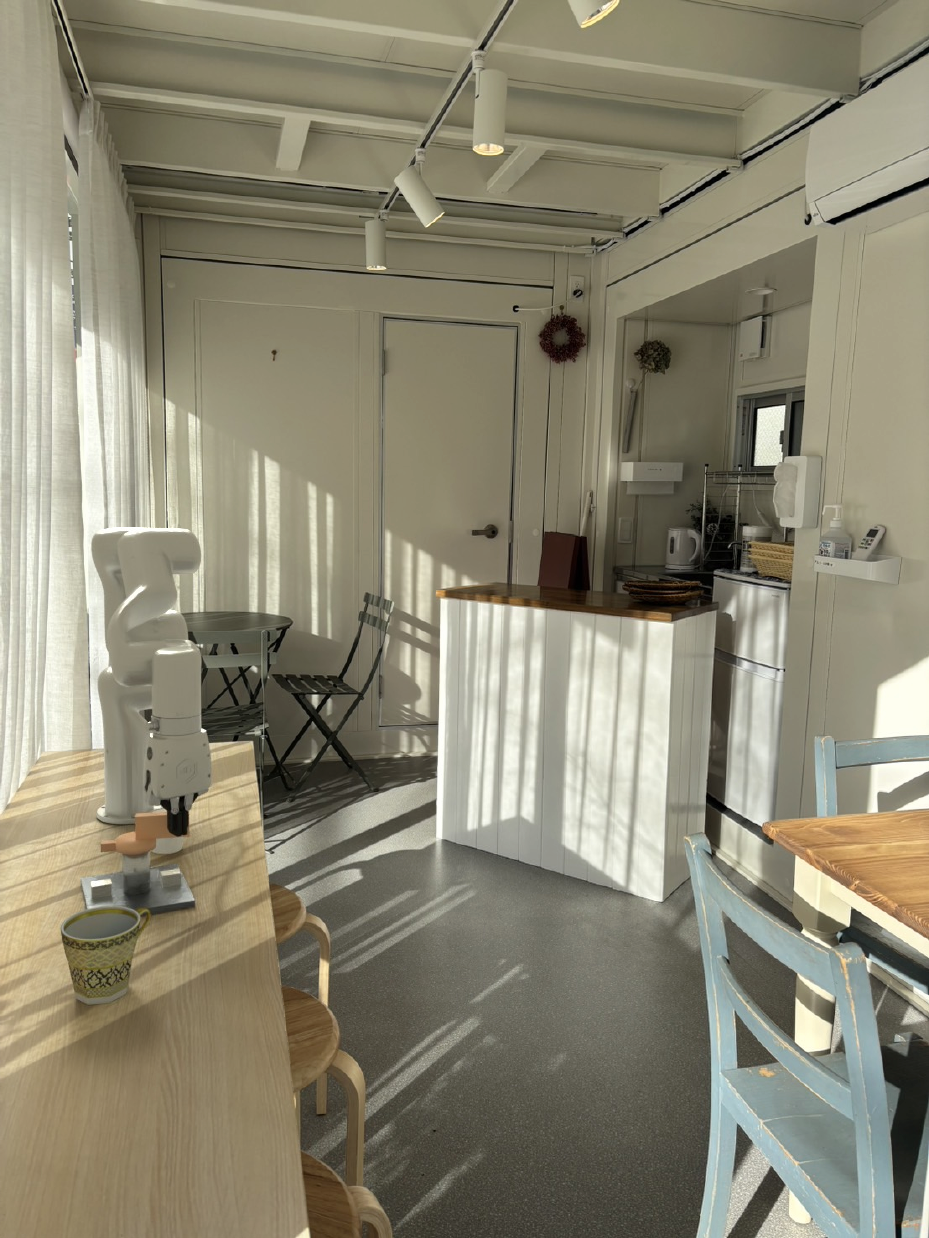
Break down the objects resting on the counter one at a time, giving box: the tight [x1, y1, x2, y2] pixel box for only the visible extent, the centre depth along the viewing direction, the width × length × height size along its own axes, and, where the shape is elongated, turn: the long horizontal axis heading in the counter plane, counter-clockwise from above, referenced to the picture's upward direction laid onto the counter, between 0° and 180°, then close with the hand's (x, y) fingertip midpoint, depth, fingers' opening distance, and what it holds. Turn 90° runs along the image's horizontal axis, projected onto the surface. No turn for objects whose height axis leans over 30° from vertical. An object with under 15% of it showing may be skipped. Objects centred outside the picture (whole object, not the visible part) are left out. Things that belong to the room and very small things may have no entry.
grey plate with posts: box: [80, 851, 196, 917], centre depth 154 cm, size 16×16×8 cm
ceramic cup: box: [60, 906, 152, 1006], centre depth 126 cm, size 13×10×10 cm
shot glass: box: [149, 807, 184, 855], centre depth 175 cm, size 7×7×7 cm
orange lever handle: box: [100, 812, 190, 855], centre depth 154 cm, size 14×6×6 cm, turn 106°
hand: (177, 833), depth 152 cm, fingers closed
